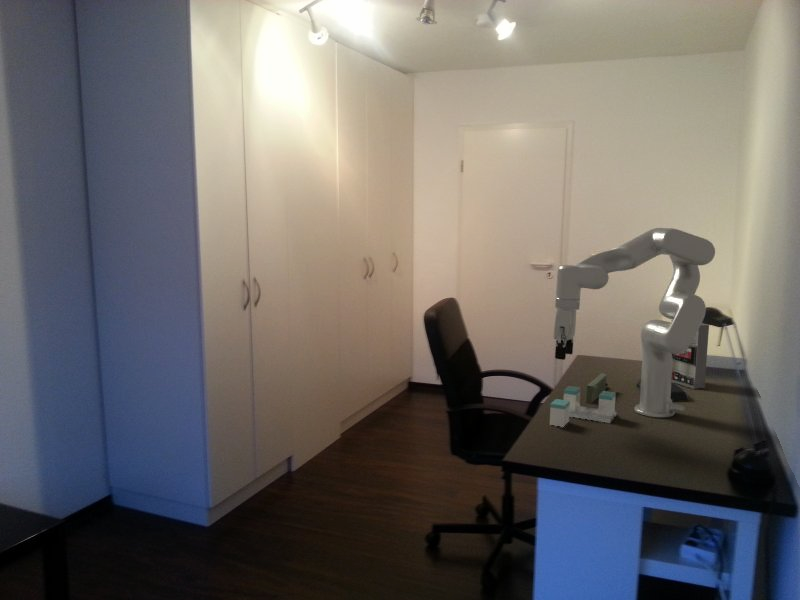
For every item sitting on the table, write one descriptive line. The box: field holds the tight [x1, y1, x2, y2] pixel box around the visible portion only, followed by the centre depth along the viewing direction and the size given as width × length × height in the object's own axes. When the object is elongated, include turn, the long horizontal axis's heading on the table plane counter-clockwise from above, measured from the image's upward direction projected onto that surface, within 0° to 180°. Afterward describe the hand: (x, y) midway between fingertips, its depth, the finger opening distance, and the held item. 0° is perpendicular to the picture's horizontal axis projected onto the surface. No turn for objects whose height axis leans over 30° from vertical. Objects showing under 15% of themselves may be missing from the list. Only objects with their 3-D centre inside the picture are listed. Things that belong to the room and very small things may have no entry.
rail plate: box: [563, 385, 617, 424], centre depth 213 cm, size 16×10×8 cm, turn 60°
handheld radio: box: [584, 373, 609, 404], centre depth 238 cm, size 7×3×25 cm
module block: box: [549, 398, 570, 428], centre depth 204 cm, size 4×6×7 cm
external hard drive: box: [635, 379, 690, 402], centre depth 240 cm, size 13×19×4 cm
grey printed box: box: [670, 319, 710, 390], centre depth 252 cm, size 14×6×25 cm, turn 23°
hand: (563, 356), depth 207 cm, fingers open, 9 cm apart
